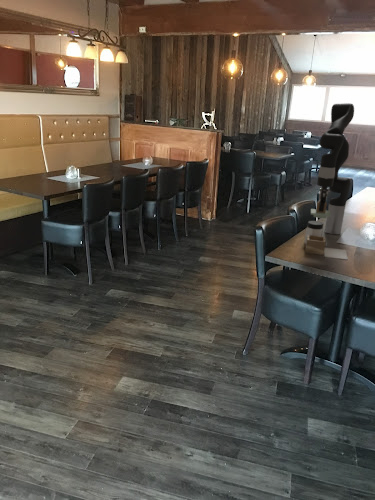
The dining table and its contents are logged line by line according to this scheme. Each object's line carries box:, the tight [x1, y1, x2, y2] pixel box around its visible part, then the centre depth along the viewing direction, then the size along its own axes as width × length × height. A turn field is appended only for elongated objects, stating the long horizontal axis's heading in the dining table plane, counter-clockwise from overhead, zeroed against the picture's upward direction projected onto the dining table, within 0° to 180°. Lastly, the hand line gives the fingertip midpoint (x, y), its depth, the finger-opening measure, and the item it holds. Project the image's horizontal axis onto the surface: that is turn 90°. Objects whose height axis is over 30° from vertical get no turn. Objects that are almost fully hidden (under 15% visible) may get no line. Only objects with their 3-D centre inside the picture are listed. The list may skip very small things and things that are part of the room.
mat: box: [324, 247, 348, 261], centre depth 212 cm, size 15×11×1 cm
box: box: [304, 235, 327, 256], centre depth 214 cm, size 9×9×7 cm
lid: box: [310, 200, 331, 219], centre depth 207 cm, size 9×9×7 cm
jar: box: [303, 220, 324, 245], centre depth 225 cm, size 9×8×12 cm
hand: (320, 210), depth 207 cm, fingers closed on lid, 3 cm apart
